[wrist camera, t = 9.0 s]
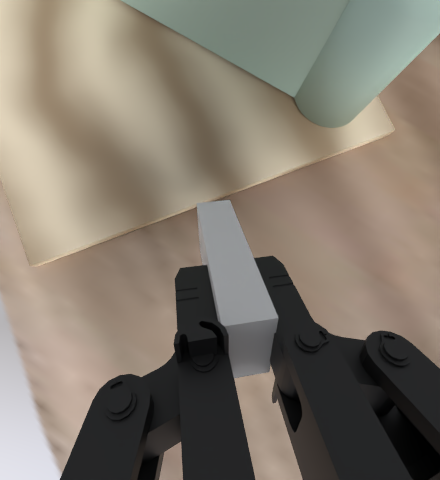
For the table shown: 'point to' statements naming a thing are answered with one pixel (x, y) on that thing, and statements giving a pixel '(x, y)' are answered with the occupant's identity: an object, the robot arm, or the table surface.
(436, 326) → the table surface
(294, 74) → the link
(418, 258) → the table surface
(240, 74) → the pintle board
